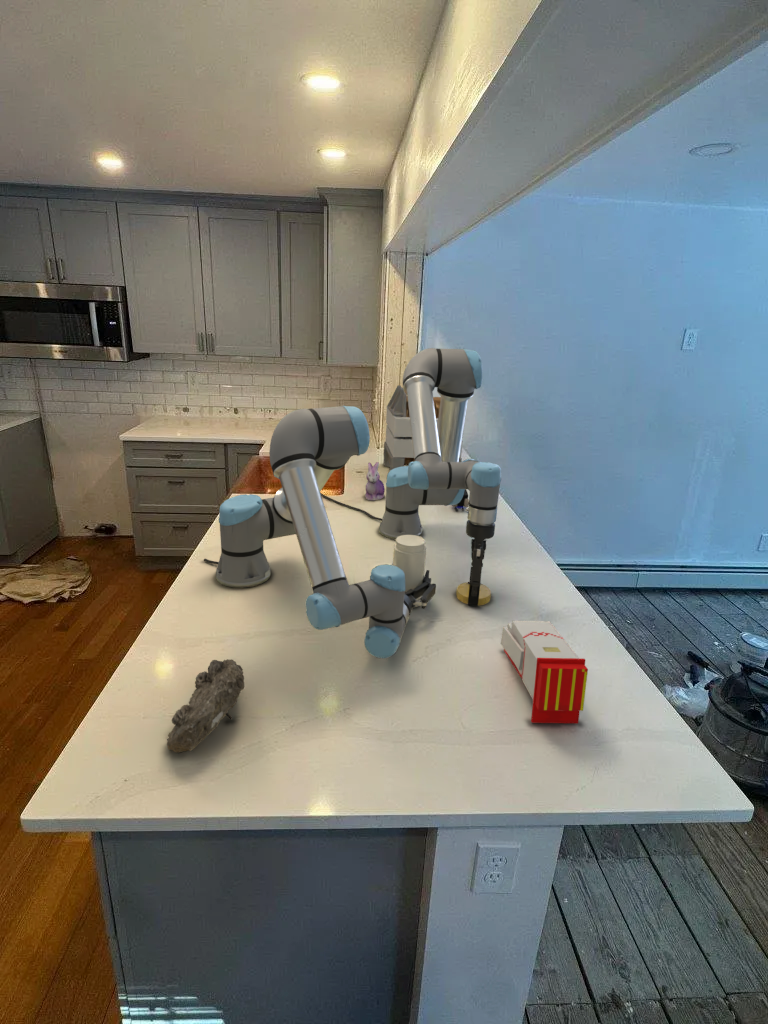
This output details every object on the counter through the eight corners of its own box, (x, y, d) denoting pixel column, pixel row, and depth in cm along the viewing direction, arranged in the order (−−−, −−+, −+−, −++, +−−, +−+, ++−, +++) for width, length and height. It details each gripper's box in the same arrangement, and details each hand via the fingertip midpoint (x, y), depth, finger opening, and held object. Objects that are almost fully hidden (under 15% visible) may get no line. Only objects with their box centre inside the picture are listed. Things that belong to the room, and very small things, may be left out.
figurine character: (468, 516, 224) (463, 500, 237) (471, 498, 221) (465, 483, 234) (452, 515, 224) (447, 499, 237) (453, 498, 220) (449, 482, 234)
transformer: (382, 463, 289) (386, 382, 275) (445, 464, 293) (451, 384, 279) (390, 482, 257) (394, 392, 243) (460, 483, 261) (468, 394, 247)
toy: (547, 606, 135) (596, 665, 106) (541, 658, 138) (589, 729, 108) (496, 604, 134) (532, 664, 105) (492, 657, 137) (526, 729, 108)
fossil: (192, 660, 117) (244, 628, 112) (224, 691, 120) (276, 661, 115) (142, 746, 98) (202, 712, 93) (182, 779, 101) (242, 748, 96)
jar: (410, 611, 149) (414, 549, 143) (384, 600, 154) (387, 540, 148) (428, 599, 156) (433, 539, 149) (402, 589, 160) (406, 531, 154)
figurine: (369, 502, 230) (370, 466, 225) (359, 494, 239) (360, 460, 234) (390, 499, 234) (391, 464, 229) (378, 492, 243) (380, 458, 238)
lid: (457, 586, 163) (458, 580, 162) (491, 591, 162) (491, 584, 161) (454, 603, 155) (455, 595, 154) (489, 608, 153) (490, 600, 152)
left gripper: (351, 618, 139) (373, 579, 160) (437, 632, 135) (448, 589, 156) (351, 591, 137) (374, 554, 158) (439, 604, 133) (450, 565, 153)
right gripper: (468, 506, 161) (461, 577, 169) (465, 534, 141) (457, 614, 148) (494, 509, 160) (486, 580, 168) (496, 537, 140) (486, 617, 147)
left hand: (411, 572), depth 157 cm, fingers closed on jar, 9 cm apart
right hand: (473, 596), depth 158 cm, fingers open, 9 cm apart
